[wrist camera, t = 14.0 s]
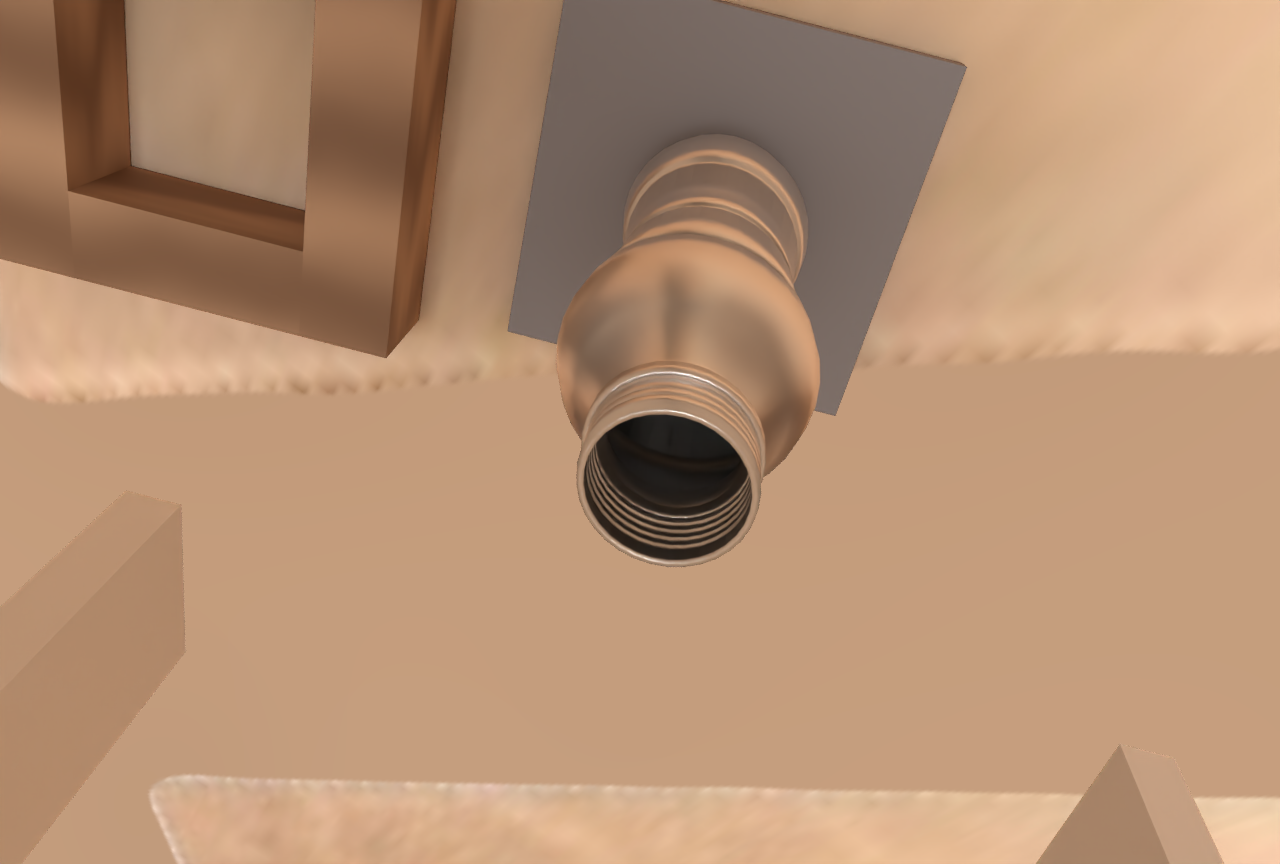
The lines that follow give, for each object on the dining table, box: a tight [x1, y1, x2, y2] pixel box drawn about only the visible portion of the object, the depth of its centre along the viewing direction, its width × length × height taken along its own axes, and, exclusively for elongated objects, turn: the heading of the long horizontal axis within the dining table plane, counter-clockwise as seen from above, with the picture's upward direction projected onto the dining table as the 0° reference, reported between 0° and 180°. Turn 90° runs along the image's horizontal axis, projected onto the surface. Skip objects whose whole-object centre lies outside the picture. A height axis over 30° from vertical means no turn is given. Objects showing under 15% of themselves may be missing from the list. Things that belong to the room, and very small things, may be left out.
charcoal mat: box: [508, 0, 967, 416], centre depth 36 cm, size 14×14×1 cm
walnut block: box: [0, 0, 456, 358], centre depth 35 cm, size 16×16×4 cm
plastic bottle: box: [556, 134, 820, 567], centre depth 27 cm, size 6×7×20 cm
